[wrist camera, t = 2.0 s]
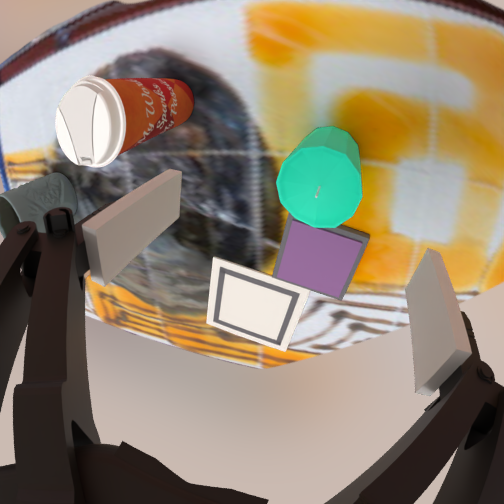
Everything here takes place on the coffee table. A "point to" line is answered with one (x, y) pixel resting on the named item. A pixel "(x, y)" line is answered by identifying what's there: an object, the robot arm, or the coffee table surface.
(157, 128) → the paper cup
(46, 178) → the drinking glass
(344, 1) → the coffee table surface
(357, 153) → the candle
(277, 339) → the marked card
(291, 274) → the ink pad
